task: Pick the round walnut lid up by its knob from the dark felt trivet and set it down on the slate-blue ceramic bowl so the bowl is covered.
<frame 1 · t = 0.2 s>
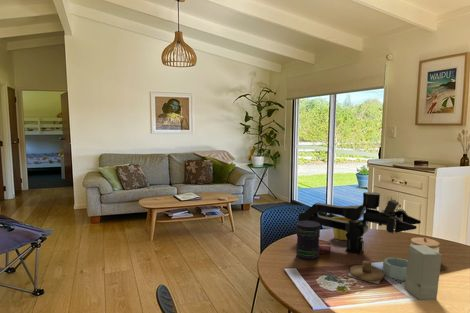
hand: (418, 224, 135), 17 cm above the table, tool horizontal, fingers open, 9 cm apart
trivet: (366, 274, 126), on the table
storage jar: (307, 257, 144), on the table
plant pot: (341, 238, 169), on the table
bowl: (398, 273, 127), on the table
skincare box: (421, 294, 112), on the table
lidded jar: (424, 259, 142), on the table
lid: (366, 273, 126), resting on trivet
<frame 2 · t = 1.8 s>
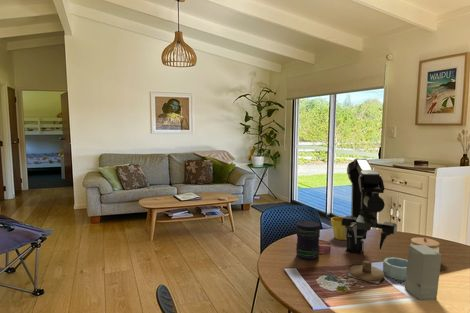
hand: (367, 246, 125), 11 cm above the table, tool pointing down, fingers open, 9 cm apart
nothing on the table moved.
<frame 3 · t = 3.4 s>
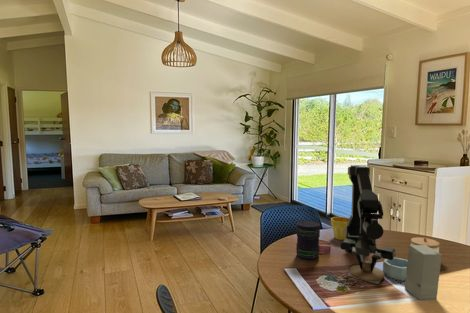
hand: (366, 270, 126), 2 cm above the table, tool pointing down, fingers closed on lid, 3 cm apart
lid: (366, 273, 126), resting on trivet, touching gripper
everything else where it was.
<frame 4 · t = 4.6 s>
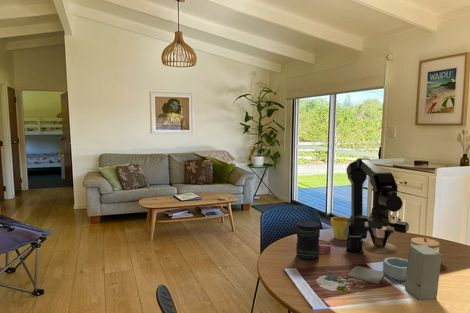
hand: (379, 245, 126), 11 cm above the table, tool pointing down, fingers closed on lid, 3 cm apart
lid: (379, 248, 126), point 10 cm above the table, touching gripper
everything else where it was.
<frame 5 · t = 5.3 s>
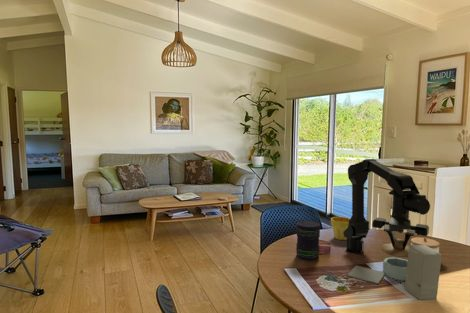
hand: (398, 248, 126), 10 cm above the table, tool pointing down, fingers closed on lid, 3 cm apart
lid: (398, 251, 126), point 9 cm above the table, touching gripper
everything else where it was.
when the fingers open (7 cm above the table, at t = 6.0 s): lid drops 1 cm, resting on bowl.
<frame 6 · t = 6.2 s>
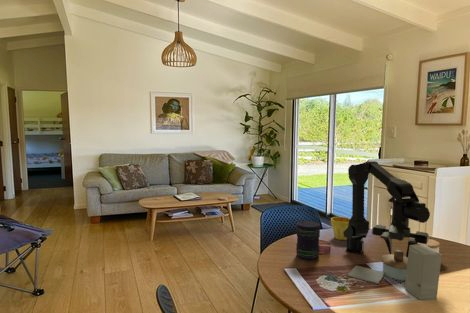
hand: (398, 255, 126), 7 cm above the table, tool pointing down, fingers open, 5 cm apart
lid: (398, 262, 127), point 4 cm above the table, touching bowl
everything else where it was.
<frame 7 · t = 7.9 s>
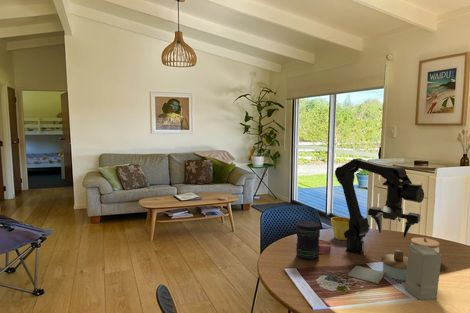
hand: (392, 235, 136), 12 cm above the table, tool pointing down, fingers open, 9 cm apart
nothing on the table moved.
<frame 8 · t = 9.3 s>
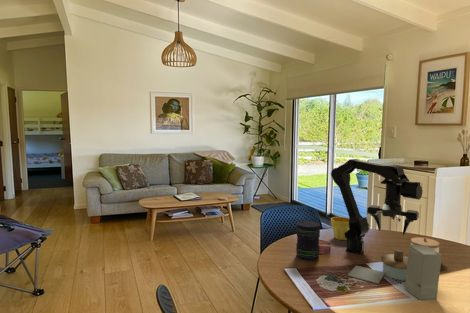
hand: (391, 232, 138), 13 cm above the table, tool pointing down, fingers open, 9 cm apart
nothing on the table moved.
at the end: lid 0.1 cm off-centre on the bowl, point 4.5 cm above the bowl's base; lid tilted 0°; the gripper is holding nothing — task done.
